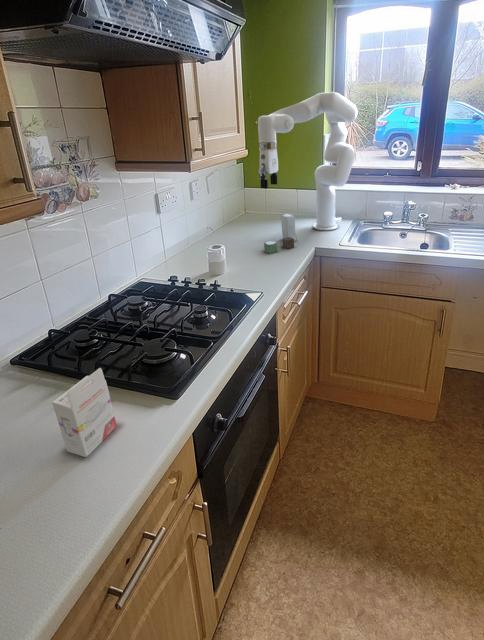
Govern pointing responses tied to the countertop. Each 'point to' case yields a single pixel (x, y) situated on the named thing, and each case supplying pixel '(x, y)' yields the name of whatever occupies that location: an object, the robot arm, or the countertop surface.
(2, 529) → the countertop surface
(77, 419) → the ink cartridge box
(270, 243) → the sage block
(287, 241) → the walnut block
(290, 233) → the cosmetic box
